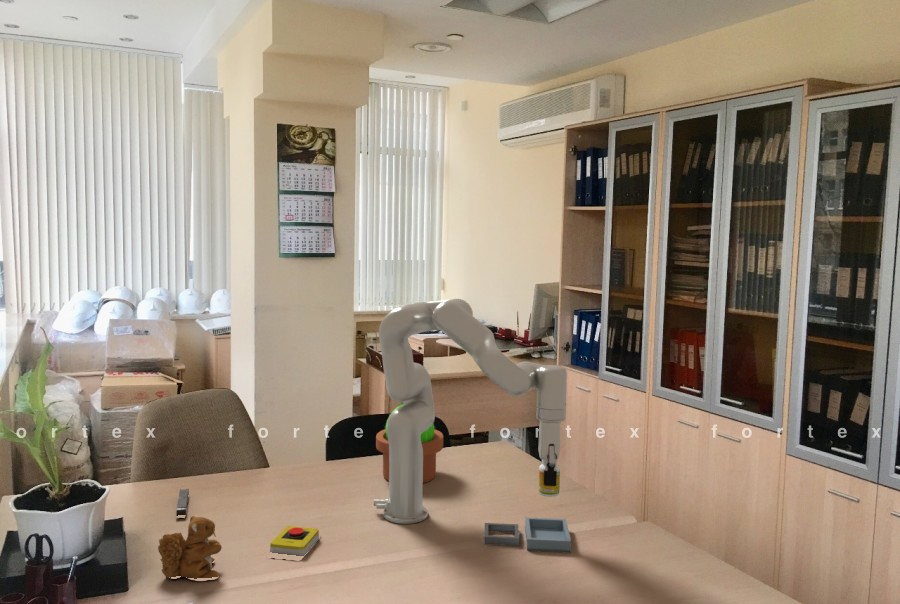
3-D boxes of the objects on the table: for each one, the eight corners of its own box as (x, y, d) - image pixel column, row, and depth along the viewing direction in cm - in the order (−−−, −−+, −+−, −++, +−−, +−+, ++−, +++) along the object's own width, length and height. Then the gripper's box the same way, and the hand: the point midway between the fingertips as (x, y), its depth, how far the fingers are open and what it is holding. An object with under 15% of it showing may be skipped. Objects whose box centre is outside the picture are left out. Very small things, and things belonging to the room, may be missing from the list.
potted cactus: (441, 488, 225) (443, 410, 222) (372, 486, 225) (372, 408, 222) (443, 465, 247) (444, 394, 244) (379, 464, 247) (380, 392, 244)
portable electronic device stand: (186, 520, 198) (186, 509, 198) (176, 521, 197) (175, 510, 197) (189, 496, 215) (189, 487, 215) (180, 497, 214) (179, 487, 214)
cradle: (483, 544, 185) (484, 536, 185) (484, 529, 194) (484, 522, 194) (518, 545, 184) (519, 538, 184) (517, 531, 193) (518, 524, 193)
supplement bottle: (558, 498, 184) (559, 461, 183) (537, 496, 185) (538, 459, 184) (559, 490, 189) (560, 454, 188) (539, 489, 190) (540, 453, 189)
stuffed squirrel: (221, 580, 164) (220, 525, 163) (155, 588, 160) (154, 531, 158) (222, 561, 173) (221, 508, 172) (159, 568, 169) (158, 514, 168)
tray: (527, 550, 182) (527, 539, 181) (525, 527, 196) (525, 517, 195) (570, 552, 181) (571, 541, 181) (565, 529, 195) (565, 519, 195)
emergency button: (322, 521, 188) (300, 546, 173) (322, 537, 188) (300, 563, 174) (288, 518, 190) (264, 542, 175) (289, 534, 190) (264, 560, 175)
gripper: (534, 404, 194) (533, 470, 196) (538, 421, 177) (536, 492, 178) (562, 405, 193) (560, 470, 195) (568, 422, 176) (566, 493, 178)
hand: (549, 480), depth 187 cm, fingers closed on supplement bottle, 5 cm apart
